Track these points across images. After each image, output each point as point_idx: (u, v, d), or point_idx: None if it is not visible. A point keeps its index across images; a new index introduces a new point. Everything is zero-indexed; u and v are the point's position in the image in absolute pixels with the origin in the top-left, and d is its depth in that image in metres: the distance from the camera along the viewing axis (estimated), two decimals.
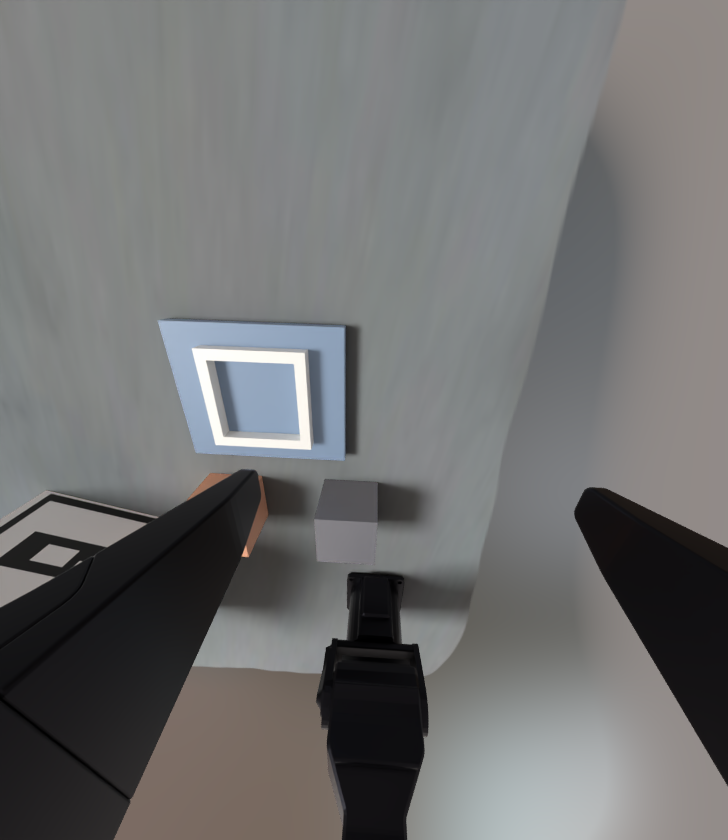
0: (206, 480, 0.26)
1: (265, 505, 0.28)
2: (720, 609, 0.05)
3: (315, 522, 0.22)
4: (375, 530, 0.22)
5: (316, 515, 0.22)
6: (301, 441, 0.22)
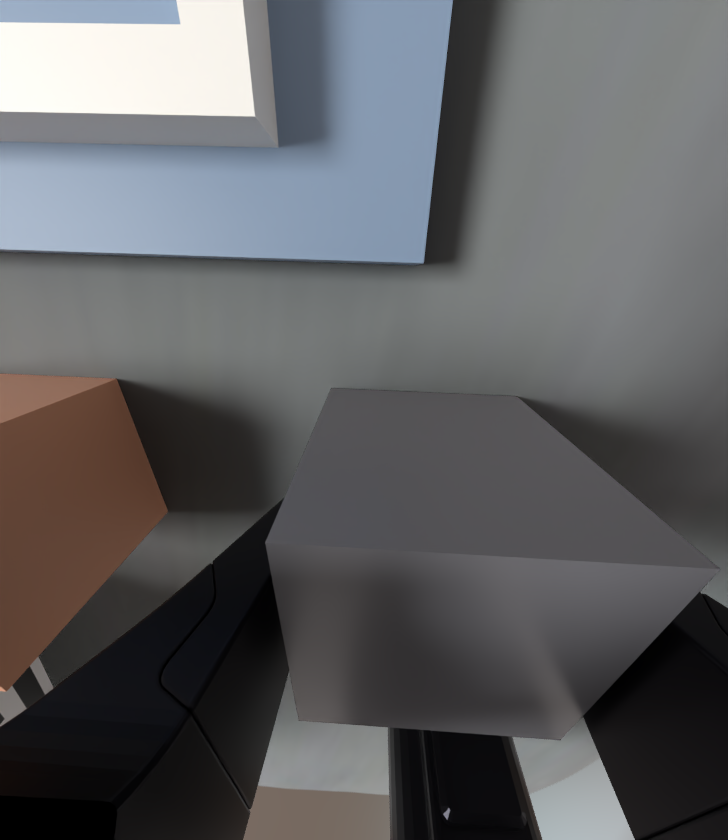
0: None
1: (148, 482, 0.09)
2: None
3: (276, 562, 0.03)
4: (666, 613, 0.03)
5: (281, 515, 0.04)
6: (189, 36, 0.03)
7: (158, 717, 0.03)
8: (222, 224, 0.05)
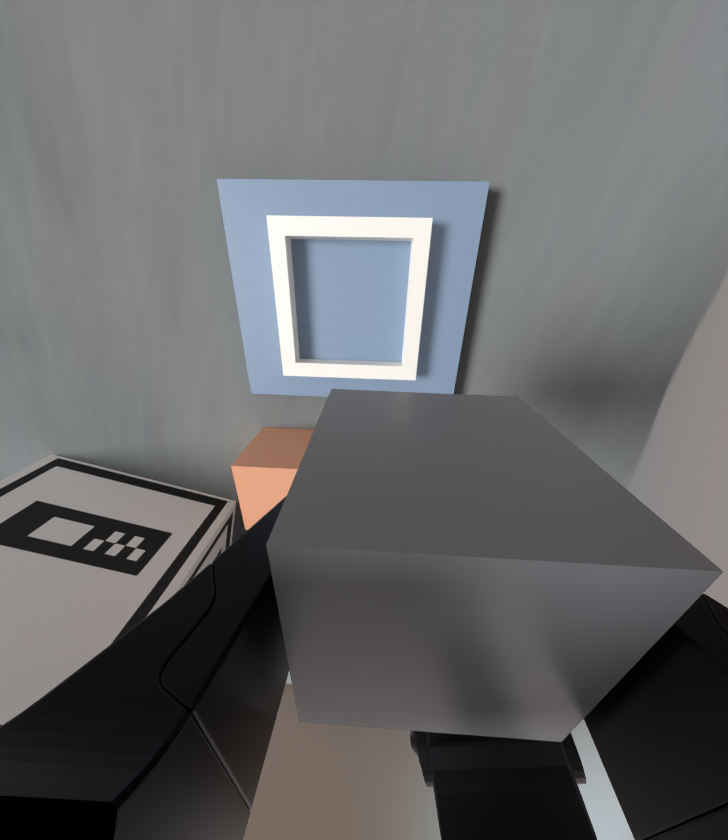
0: (261, 434, 0.20)
1: None
2: None
3: (276, 565, 0.03)
4: (669, 616, 0.03)
5: (282, 518, 0.04)
6: (403, 367, 0.16)
7: (159, 717, 0.03)
8: None
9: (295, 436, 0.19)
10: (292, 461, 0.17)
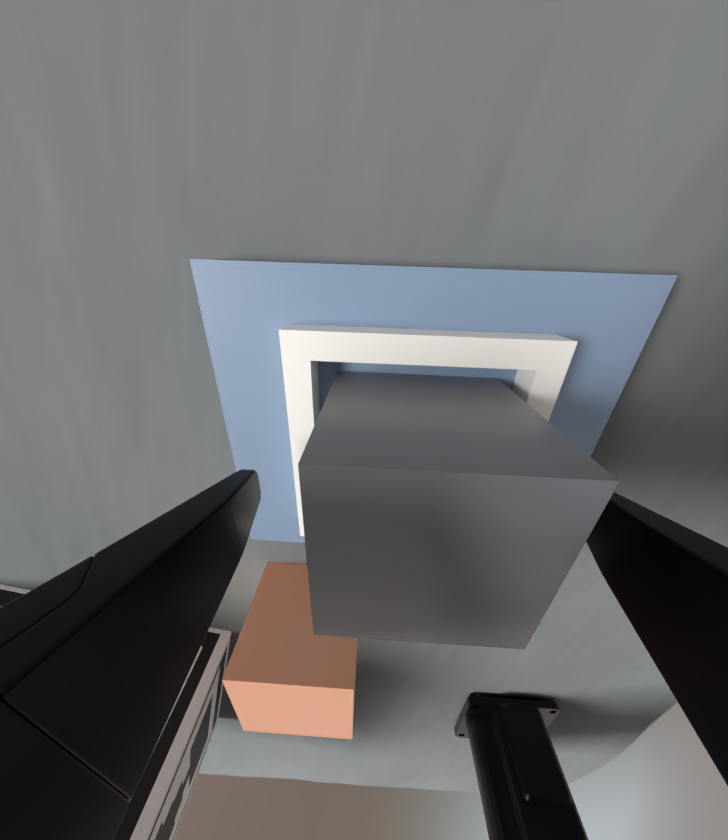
0: (265, 581, 0.14)
1: None
2: (720, 609, 0.05)
3: (304, 481, 0.05)
4: (589, 521, 0.05)
5: (307, 450, 0.05)
6: None
7: None
8: None
9: None
10: (313, 662, 0.11)
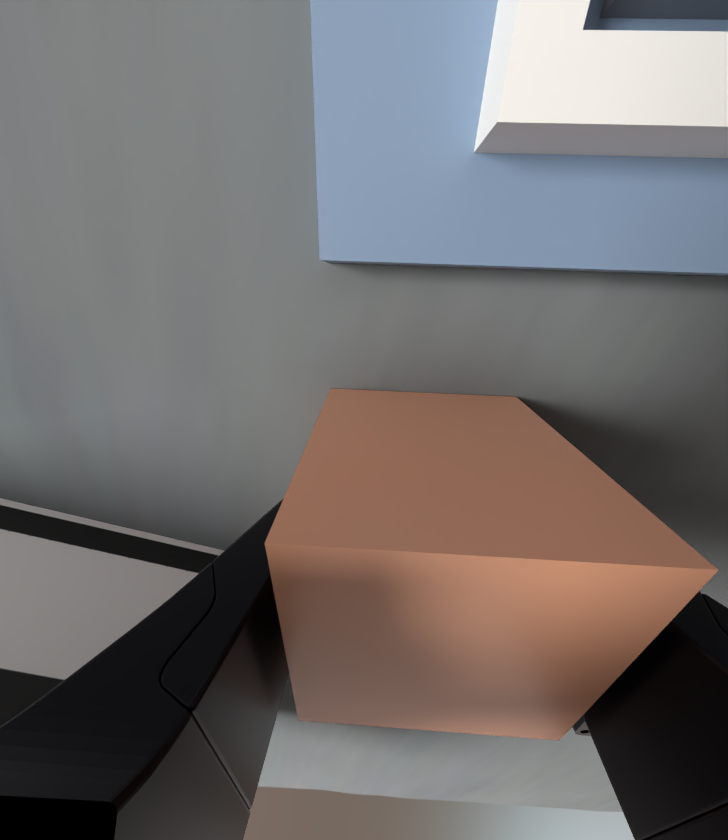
0: (334, 405, 0.07)
1: None
2: None
3: None
4: None
5: None
6: None
7: (158, 717, 0.03)
8: None
9: (439, 412, 0.06)
10: (531, 511, 0.04)
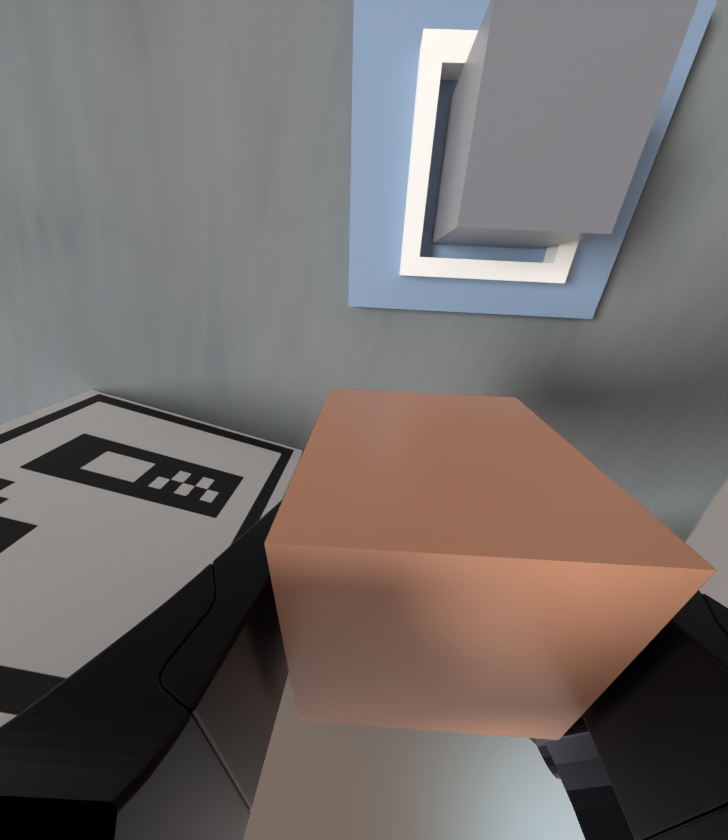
0: (333, 406, 0.07)
1: None
2: None
3: (496, 6, 0.07)
4: (677, 43, 0.07)
5: None
6: (554, 265, 0.13)
7: (159, 717, 0.03)
8: (523, 304, 0.15)
9: (438, 412, 0.06)
10: (529, 511, 0.04)
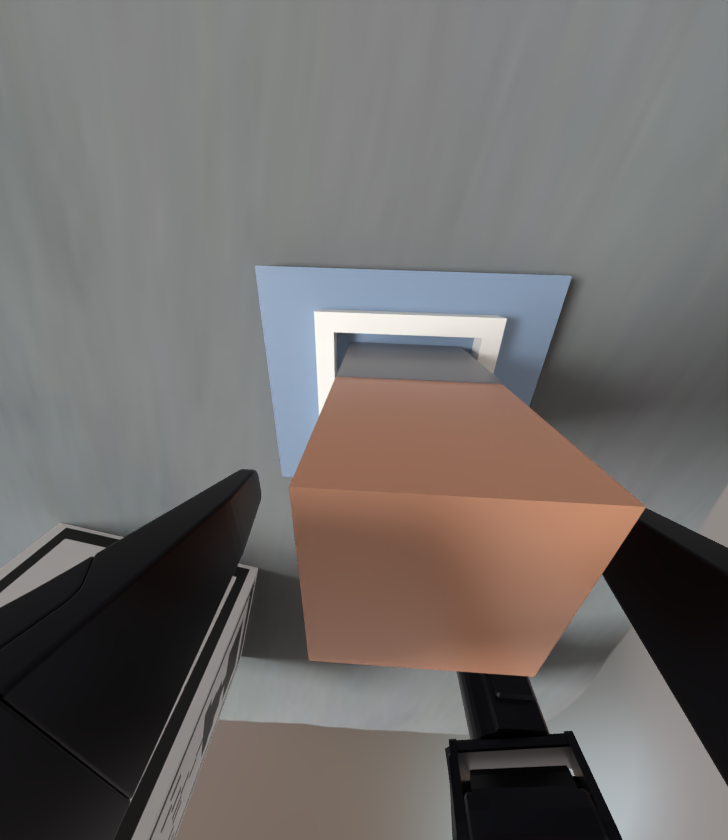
0: (339, 390, 0.07)
1: None
2: (720, 609, 0.05)
3: None
4: None
5: (340, 372, 0.09)
6: None
7: None
8: None
9: (432, 396, 0.07)
10: (504, 468, 0.05)
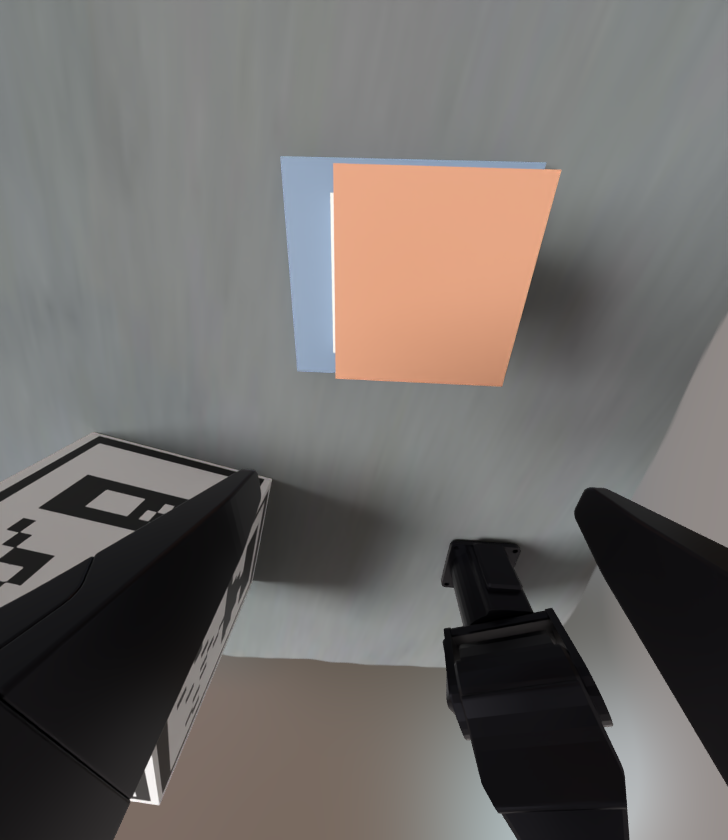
0: None
1: None
2: (720, 609, 0.05)
3: None
4: None
5: None
6: None
7: None
8: None
9: None
10: None
